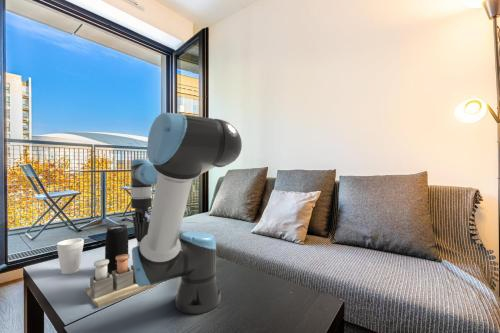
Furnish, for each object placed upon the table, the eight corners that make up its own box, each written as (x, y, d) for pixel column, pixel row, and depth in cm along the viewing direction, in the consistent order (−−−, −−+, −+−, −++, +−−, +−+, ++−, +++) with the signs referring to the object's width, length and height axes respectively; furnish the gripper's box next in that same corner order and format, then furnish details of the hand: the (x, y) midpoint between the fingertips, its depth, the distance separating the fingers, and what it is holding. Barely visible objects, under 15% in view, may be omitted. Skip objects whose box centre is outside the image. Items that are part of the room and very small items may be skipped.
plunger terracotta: (131, 274, 89) (131, 256, 89) (118, 278, 86) (118, 259, 86) (126, 270, 92) (126, 253, 92) (113, 274, 89) (113, 256, 89)
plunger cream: (110, 280, 84) (111, 261, 84) (95, 285, 81) (96, 265, 81) (106, 276, 87) (106, 258, 87) (91, 280, 84) (92, 261, 84)
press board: (157, 285, 92) (157, 268, 92) (98, 308, 77) (98, 287, 77) (140, 273, 102) (140, 258, 102) (85, 292, 87) (85, 273, 87)
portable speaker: (123, 274, 101) (123, 228, 101) (100, 274, 101) (100, 229, 101) (131, 265, 110) (131, 223, 110) (110, 266, 109) (110, 224, 109)
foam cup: (57, 278, 97) (57, 246, 97) (56, 270, 104) (56, 241, 104) (84, 271, 104) (85, 241, 104) (82, 264, 111) (82, 237, 111)
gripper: (158, 198, 93) (158, 258, 93) (143, 195, 102) (143, 250, 101) (139, 199, 87) (138, 263, 87) (125, 197, 96) (125, 255, 96)
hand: (141, 256), depth 94 cm, fingers closed
